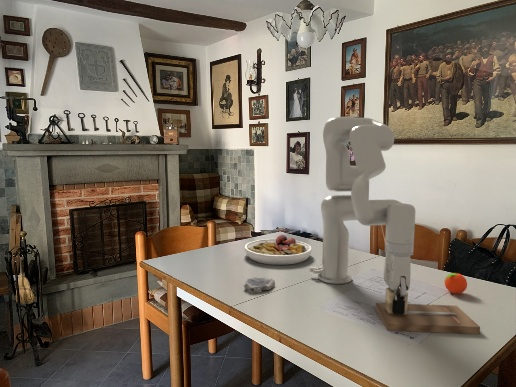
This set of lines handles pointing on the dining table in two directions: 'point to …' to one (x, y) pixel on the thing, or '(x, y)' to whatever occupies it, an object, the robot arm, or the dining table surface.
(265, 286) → the fossil
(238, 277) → the dining table surface
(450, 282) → the clementine
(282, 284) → the dining table surface
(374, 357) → the dining table surface
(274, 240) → the bowl
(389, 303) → the block
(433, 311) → the board
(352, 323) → the dining table surface
